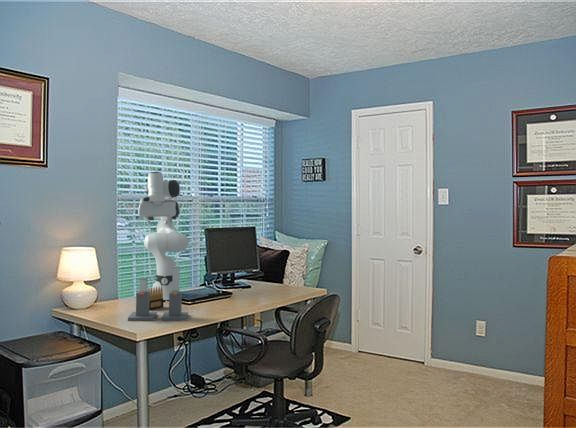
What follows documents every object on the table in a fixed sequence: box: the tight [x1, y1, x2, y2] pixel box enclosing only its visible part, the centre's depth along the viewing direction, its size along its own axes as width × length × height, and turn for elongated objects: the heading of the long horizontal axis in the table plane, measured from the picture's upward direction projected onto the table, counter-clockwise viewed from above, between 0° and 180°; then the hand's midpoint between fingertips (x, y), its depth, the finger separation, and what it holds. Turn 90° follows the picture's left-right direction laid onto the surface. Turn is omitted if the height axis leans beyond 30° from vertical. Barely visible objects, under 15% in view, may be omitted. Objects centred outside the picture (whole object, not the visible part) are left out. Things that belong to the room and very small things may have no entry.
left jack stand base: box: [127, 290, 158, 322], centre depth 252 cm, size 12×12×13 cm
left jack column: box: [139, 277, 148, 293], centre depth 252 cm, size 3×3×17 cm
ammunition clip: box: [147, 286, 164, 311], centre depth 272 cm, size 11×2×12 cm, turn 146°
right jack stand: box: [160, 265, 189, 322], centre depth 253 cm, size 12×12×26 cm
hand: (157, 224), depth 275 cm, fingers open, 8 cm apart
